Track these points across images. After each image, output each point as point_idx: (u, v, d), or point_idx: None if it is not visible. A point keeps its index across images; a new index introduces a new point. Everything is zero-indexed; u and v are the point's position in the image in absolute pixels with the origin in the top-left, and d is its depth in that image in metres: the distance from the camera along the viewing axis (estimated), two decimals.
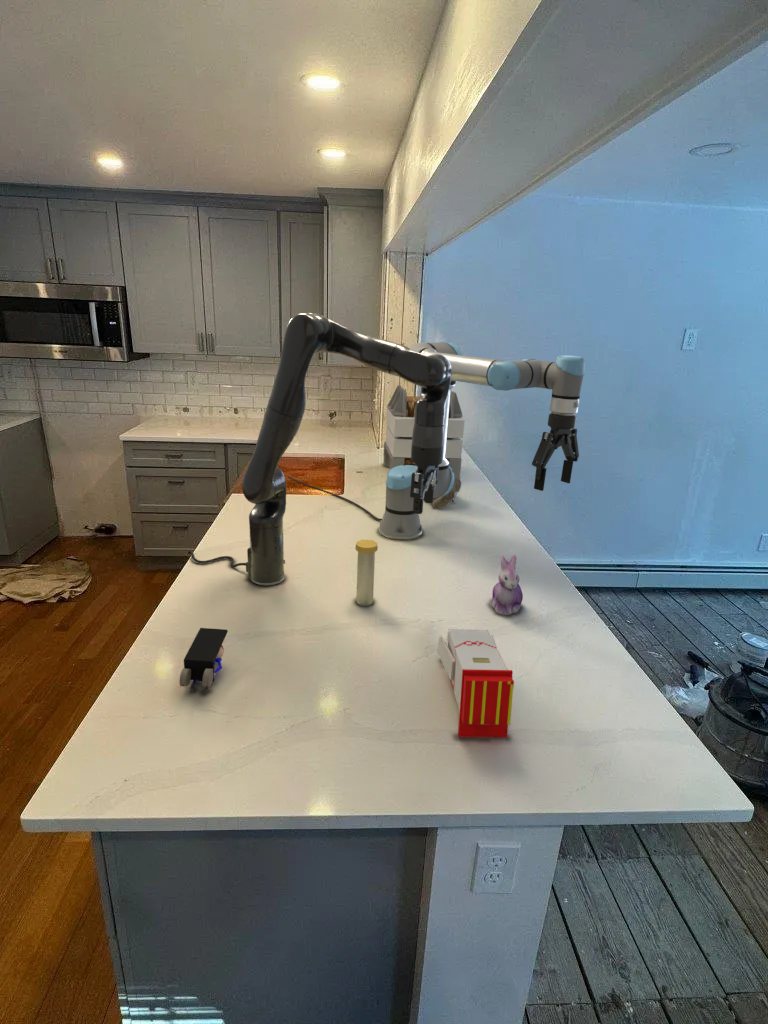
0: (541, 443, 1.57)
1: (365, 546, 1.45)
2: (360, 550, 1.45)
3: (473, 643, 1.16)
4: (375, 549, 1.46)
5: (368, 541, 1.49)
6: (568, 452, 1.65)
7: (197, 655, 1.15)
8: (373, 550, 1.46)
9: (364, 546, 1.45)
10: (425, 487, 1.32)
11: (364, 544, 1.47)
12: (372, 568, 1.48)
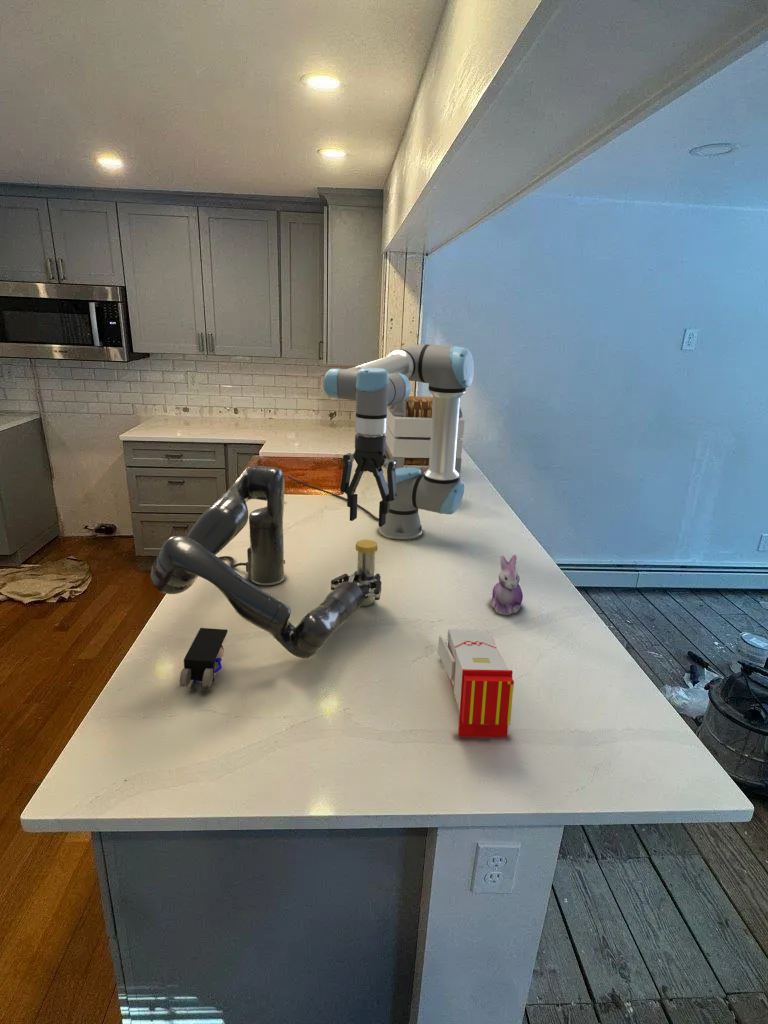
0: (392, 475, 1.38)
1: (365, 546, 1.45)
2: (360, 550, 1.45)
3: (473, 643, 1.16)
4: (375, 549, 1.46)
5: (368, 541, 1.49)
6: (358, 481, 1.43)
7: (197, 655, 1.15)
8: (373, 550, 1.46)
9: (364, 546, 1.45)
10: (370, 582, 1.46)
11: (364, 544, 1.47)
12: (372, 568, 1.48)
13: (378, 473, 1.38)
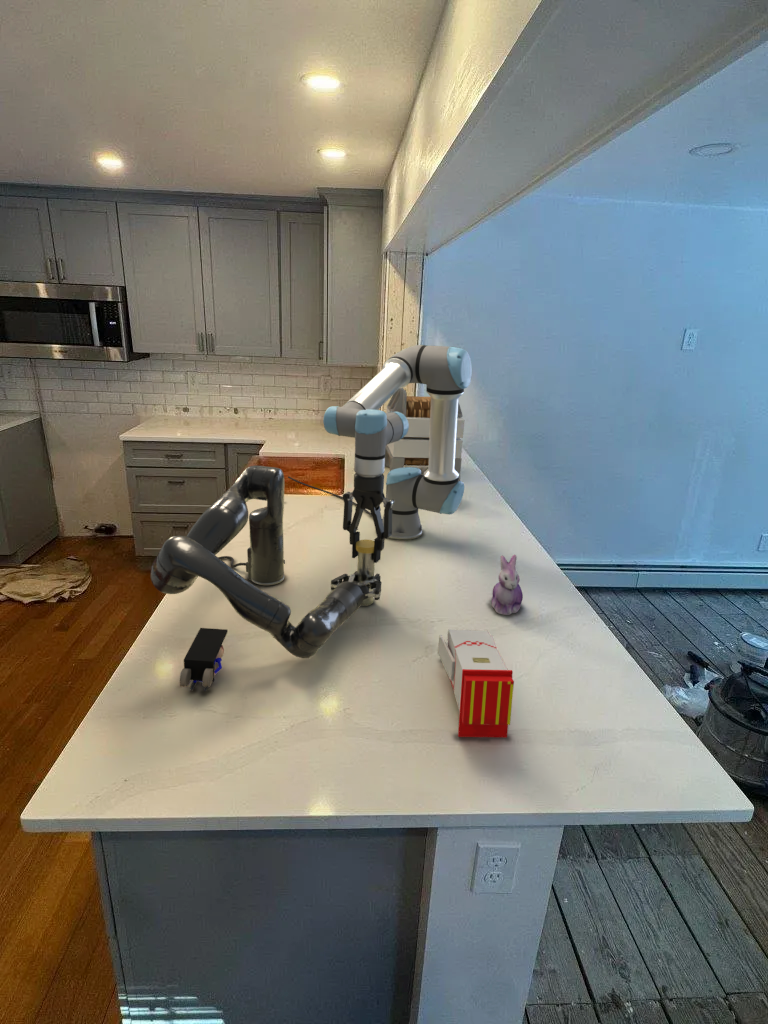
0: (389, 514, 1.41)
1: (365, 546, 1.45)
2: (360, 550, 1.45)
3: (473, 643, 1.16)
4: None
5: (368, 541, 1.49)
6: (359, 519, 1.47)
7: (197, 655, 1.15)
8: (373, 550, 1.46)
9: (364, 546, 1.45)
10: (370, 582, 1.46)
11: (364, 544, 1.47)
12: (372, 568, 1.48)
13: (375, 511, 1.42)
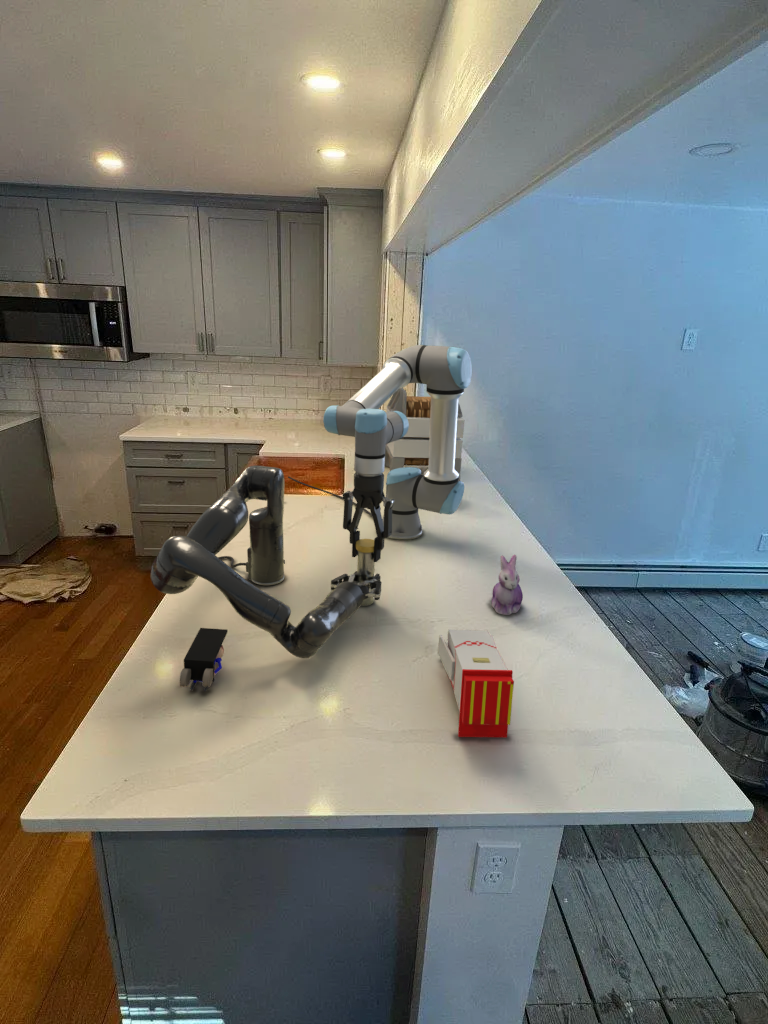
0: (389, 513, 1.41)
1: (372, 540, 1.48)
2: None
3: (473, 643, 1.16)
4: None
5: (362, 543, 1.46)
6: (359, 518, 1.47)
7: (197, 655, 1.15)
8: None
9: (373, 541, 1.48)
10: (370, 582, 1.46)
11: (370, 542, 1.47)
12: (372, 568, 1.48)
13: (375, 511, 1.42)
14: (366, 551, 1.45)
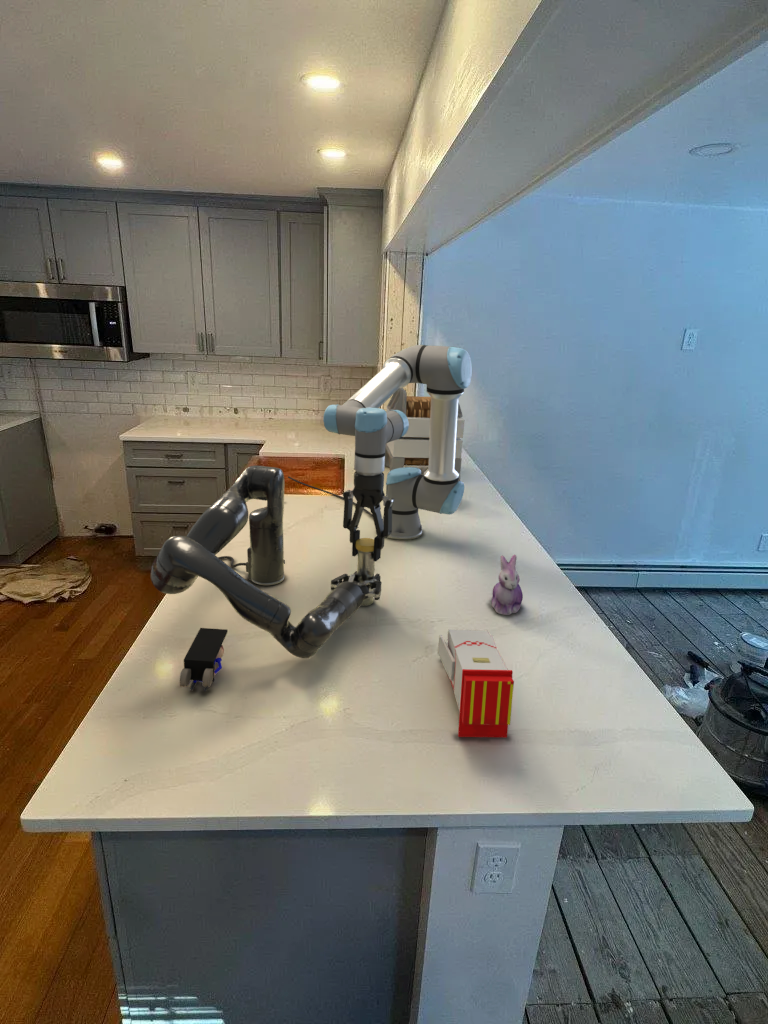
0: (388, 513, 1.41)
1: (359, 542, 1.47)
2: None
3: (473, 643, 1.16)
4: (363, 549, 1.45)
5: (372, 542, 1.47)
6: (359, 517, 1.46)
7: (197, 655, 1.15)
8: (360, 548, 1.45)
9: (358, 541, 1.47)
10: (370, 582, 1.46)
11: (363, 541, 1.47)
12: (372, 568, 1.48)
13: (375, 510, 1.42)
14: None
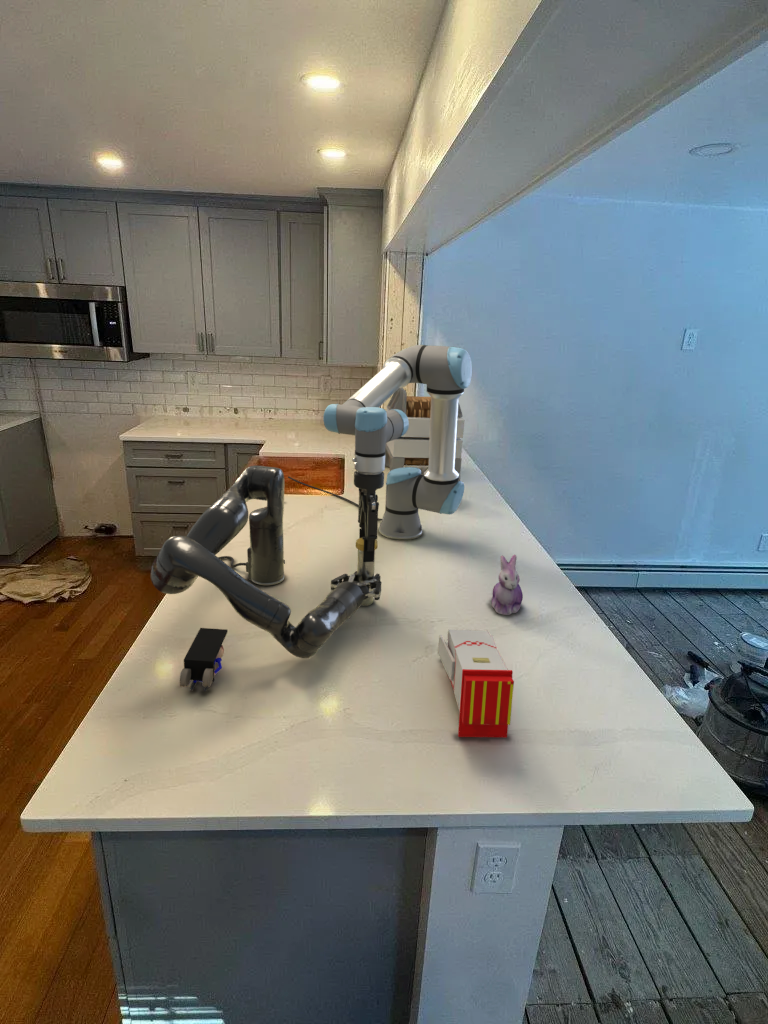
0: None
1: None
2: None
3: (473, 643, 1.16)
4: None
5: None
6: None
7: (197, 655, 1.15)
8: None
9: None
10: (370, 582, 1.46)
11: None
12: (372, 568, 1.48)
13: None
14: None
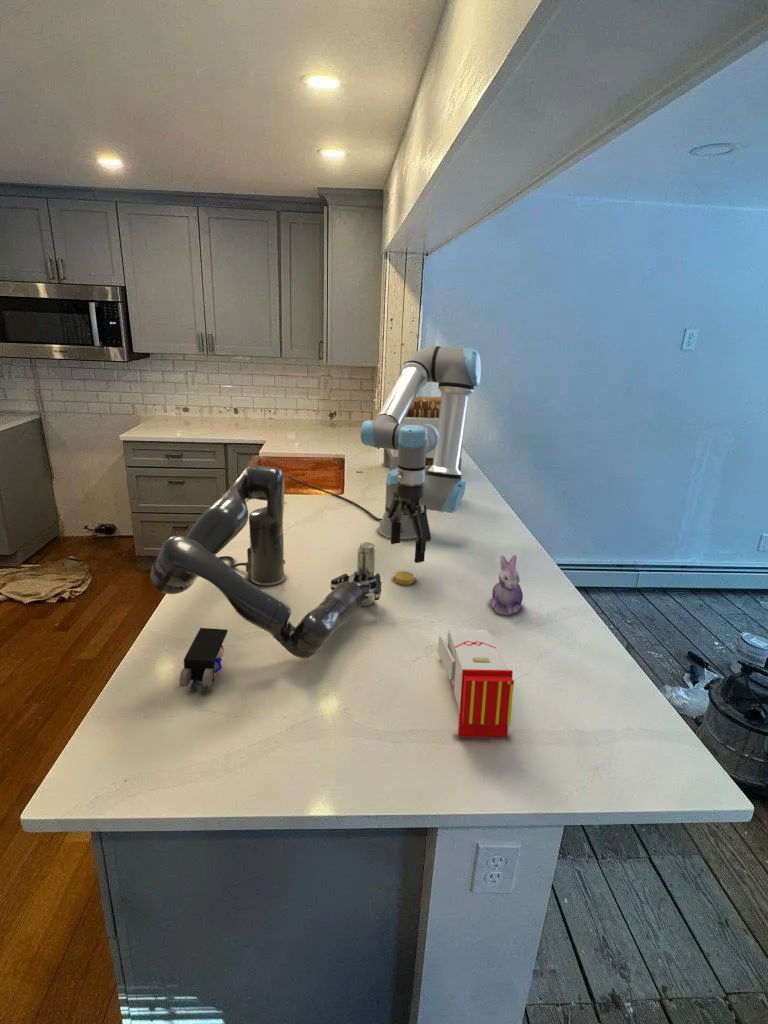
0: None
1: (410, 577, 1.64)
2: (410, 582, 1.64)
3: (473, 643, 1.16)
4: None
5: (400, 574, 1.66)
6: None
7: (197, 655, 1.15)
8: None
9: (410, 577, 1.64)
10: (370, 582, 1.46)
11: (406, 576, 1.65)
12: (372, 568, 1.48)
13: None
14: (395, 580, 1.65)
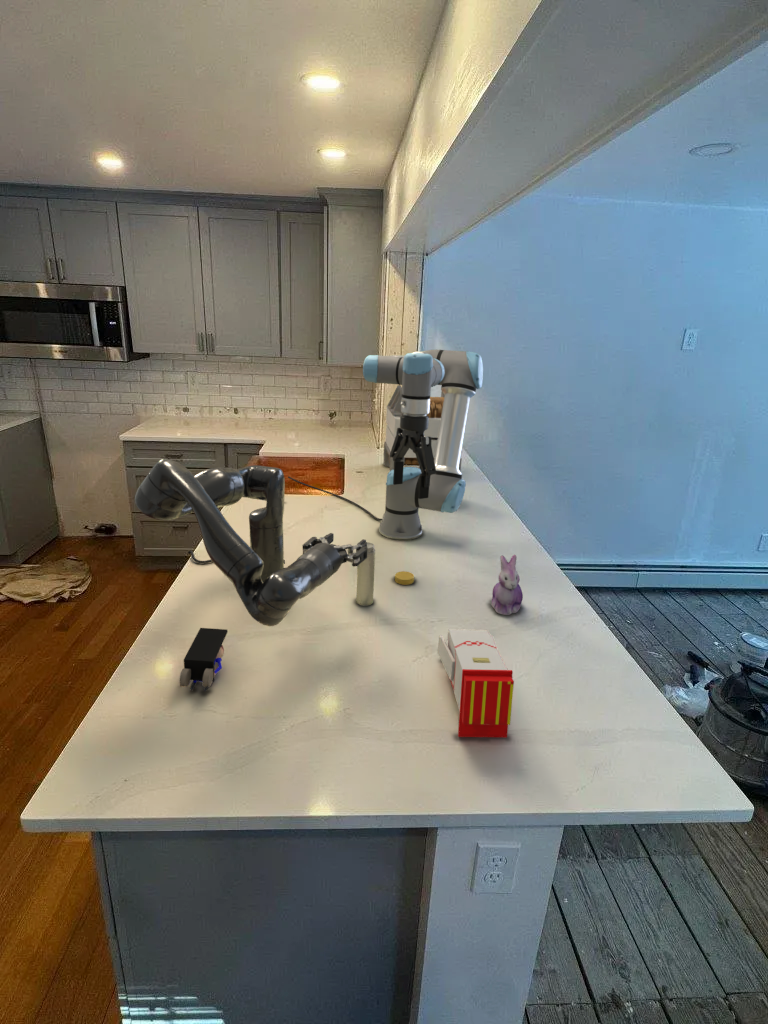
0: None
1: (410, 577, 1.64)
2: (410, 582, 1.64)
3: (473, 643, 1.16)
4: None
5: (400, 574, 1.66)
6: None
7: (197, 655, 1.15)
8: None
9: (410, 577, 1.64)
10: (351, 547, 1.28)
11: (406, 576, 1.65)
12: (372, 568, 1.48)
13: None
14: (395, 580, 1.65)
